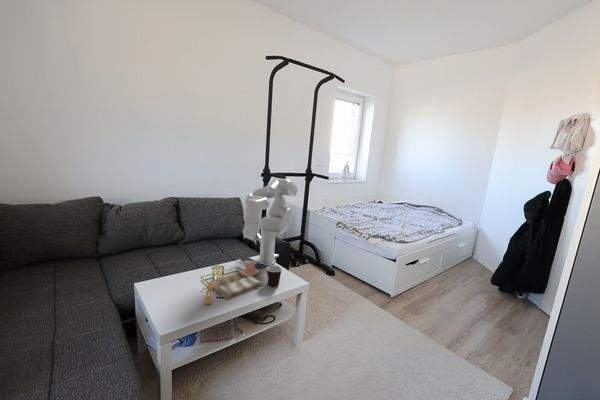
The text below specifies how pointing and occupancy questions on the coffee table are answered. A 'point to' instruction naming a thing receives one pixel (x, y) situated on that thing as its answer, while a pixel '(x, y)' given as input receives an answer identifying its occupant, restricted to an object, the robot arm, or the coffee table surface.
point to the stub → (249, 269)
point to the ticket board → (235, 285)
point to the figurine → (208, 298)
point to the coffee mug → (273, 275)
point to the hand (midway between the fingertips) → (251, 247)
